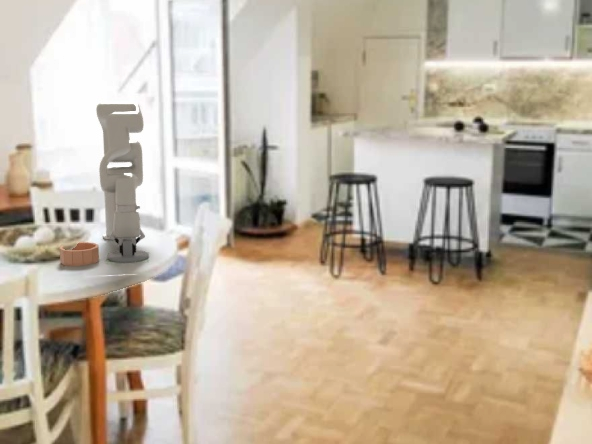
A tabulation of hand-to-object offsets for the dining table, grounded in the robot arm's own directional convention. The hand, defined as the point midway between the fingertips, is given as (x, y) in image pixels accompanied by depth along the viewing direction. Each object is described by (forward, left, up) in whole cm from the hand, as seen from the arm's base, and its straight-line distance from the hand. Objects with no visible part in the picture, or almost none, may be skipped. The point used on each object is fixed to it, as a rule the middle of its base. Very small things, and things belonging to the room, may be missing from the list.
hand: (128, 254), depth 286 cm
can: (-16, -1, -2) cm, 16 cm away
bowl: (+2, -18, -2) cm, 18 cm away
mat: (0, 0, -2) cm, 2 cm away
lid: (0, 0, -1) cm, 1 cm away
